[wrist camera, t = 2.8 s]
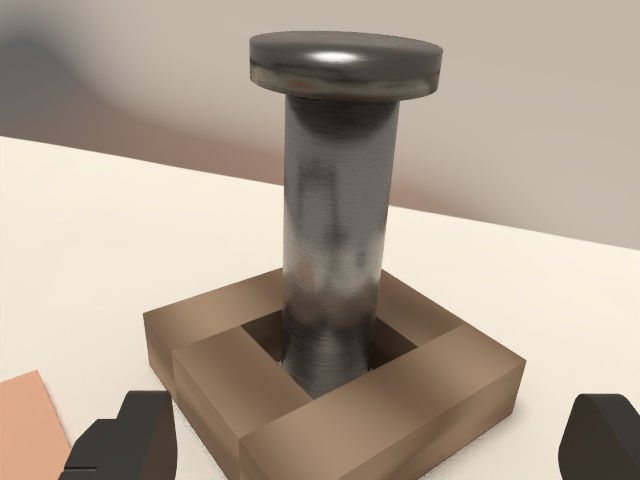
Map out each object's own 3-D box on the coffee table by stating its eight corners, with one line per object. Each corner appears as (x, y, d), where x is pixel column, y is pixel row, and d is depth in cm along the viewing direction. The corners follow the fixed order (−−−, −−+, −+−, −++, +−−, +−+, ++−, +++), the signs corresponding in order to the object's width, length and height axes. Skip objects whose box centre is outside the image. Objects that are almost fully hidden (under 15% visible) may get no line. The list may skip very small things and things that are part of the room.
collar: (289, 568, 18) (291, 507, 16) (149, 364, 26) (142, 313, 25) (511, 412, 24) (526, 360, 23) (343, 290, 33) (346, 246, 31)
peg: (308, 468, 21) (328, 65, 14) (229, 375, 26) (214, 34, 18) (422, 401, 25) (483, 52, 18) (335, 329, 29) (356, 28, 22)
